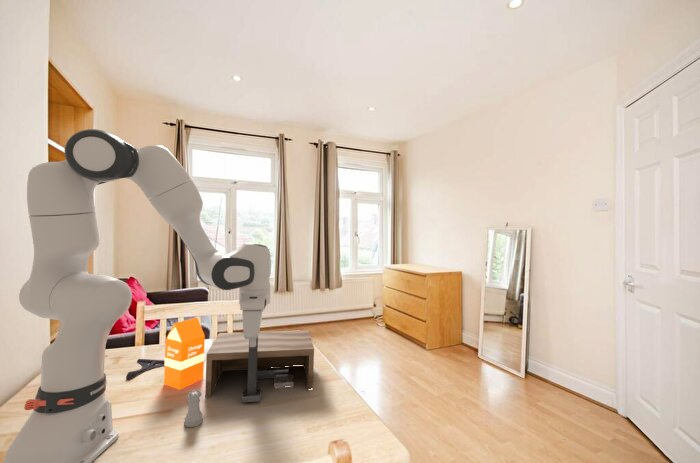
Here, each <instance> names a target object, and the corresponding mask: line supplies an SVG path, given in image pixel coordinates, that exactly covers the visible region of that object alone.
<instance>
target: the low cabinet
mask: <svg viewBox="0 0 700 463" xmlns="http://www.w3.org/2000/svg"><path fill="white" fill-rule="evenodd" d="M314 358H315V347H314V344H313V340H312V336H311V334H310V330H308V329H305V330H304V329H303V330H278V331H277V330H272V331H271V330H270V331H269V330H268V331H259V335H258V357H257V369H262V368H266V369H269V368H271V367H284V368H286V367H285V366H293V365H304V366H303V368H304V367H305V369H304V373H306V375H305V380H306V379H307V380H306V385H308V386H307V390H308V389H311V388H313V389H314V366H315V365H314V364H315V359H314ZM248 359H249V339H245V337H244V333H243V331H242V332H219V333H218V334H217V336H216V338H215V339H214V341H213V343H211V346H210V347H209V349H208V351H207V352H206V363H205V364H206V365H205V390H204V392H205V393H204V397H205V398H211V397H212V395H213V393H214V391H215V387H216V385H217V383H218V380H219V378H220V376H221V373H222V372H225V371H226V372H227V371H228V372H229V371H243V370H244V371H246V370H247V371H248Z"/></svg>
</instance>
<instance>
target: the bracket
mask: <svg viewBox="0 0 700 463" xmlns="http://www.w3.org/2000/svg"><path fill="white" fill-rule="evenodd" d="M136 362H137V364H138V365H141V368H139V369H136V370H134V371H132V370H131V371H129V372H127V374H126V376H125V379H126V380H127V381H130V380H133V379H134V378H136V377H137V376H139V375H140V374H142V373H144V372H146V371H150V370H152V369H156V368H162V367H165V359H162V360H161V359H151V358H149V359H146V358H138V359H137V361H136Z"/></svg>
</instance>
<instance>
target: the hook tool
mask: <svg viewBox="0 0 700 463" xmlns="http://www.w3.org/2000/svg"><path fill="white" fill-rule="evenodd" d="M257 357H258V338H256V347H250V340H249V359H248V370H247V386H246V387H247V388H244V389H243V391H242V394H241V395H242V396H241V403H252V402H260V401H261V395H262V388H261V387H258V386H259V379H260V380H261V379H263V380H264V379H273V378H272V377H275V375H284V374H289V367H284V368H266V369H257Z"/></svg>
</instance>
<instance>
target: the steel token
mask: <svg viewBox="0 0 700 463" xmlns="http://www.w3.org/2000/svg"><path fill="white" fill-rule="evenodd" d="M273 383H274V384H273V388H274V387H284V388H286V387H285V386H293V387H294V374H293V373H291V374H290V373H288V374H284V375H275V378H274V382H273Z"/></svg>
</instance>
